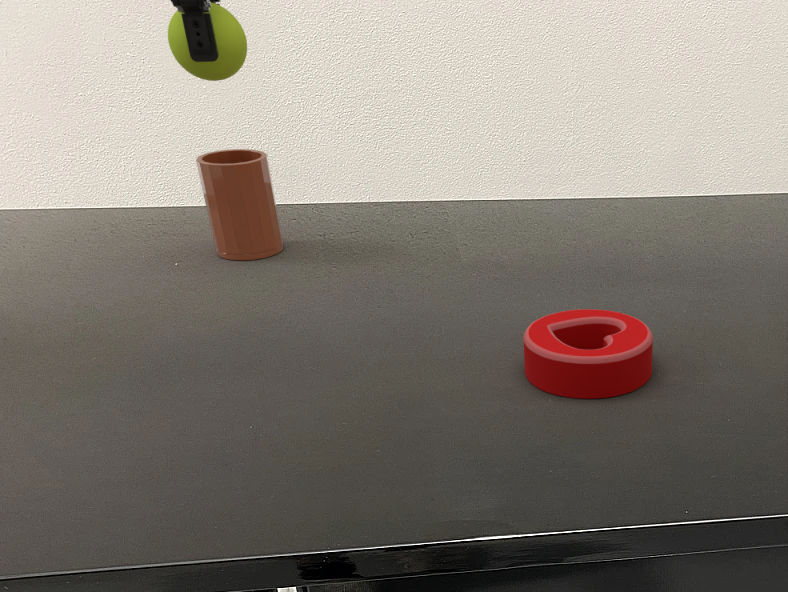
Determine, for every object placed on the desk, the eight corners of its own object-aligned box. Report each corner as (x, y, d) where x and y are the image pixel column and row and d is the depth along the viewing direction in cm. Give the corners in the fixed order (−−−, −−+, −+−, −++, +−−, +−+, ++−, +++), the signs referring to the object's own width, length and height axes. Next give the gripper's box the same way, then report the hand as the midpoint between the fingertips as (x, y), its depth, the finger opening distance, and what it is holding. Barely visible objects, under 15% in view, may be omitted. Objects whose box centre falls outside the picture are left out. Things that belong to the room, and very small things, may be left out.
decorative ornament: (527, 345, 77) (525, 308, 75) (647, 344, 77) (648, 306, 76) (522, 399, 69) (520, 359, 67) (656, 397, 69) (657, 357, 68)
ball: (172, 87, 83) (153, 5, 80) (182, 75, 88) (165, -3, 85) (250, 85, 84) (235, 4, 81) (256, 73, 90) (242, -3, 86)
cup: (213, 262, 92) (192, 166, 87) (220, 242, 97) (200, 150, 92) (281, 258, 93) (264, 163, 88) (285, 238, 98) (268, 147, 94)
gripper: (130, -171, 82) (177, 44, 90) (93, -179, 70) (150, 69, 79) (224, -168, 83) (261, 42, 92) (203, -176, 71) (248, 67, 80)
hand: (210, 54), depth 85 cm, fingers closed on ball, 6 cm apart
